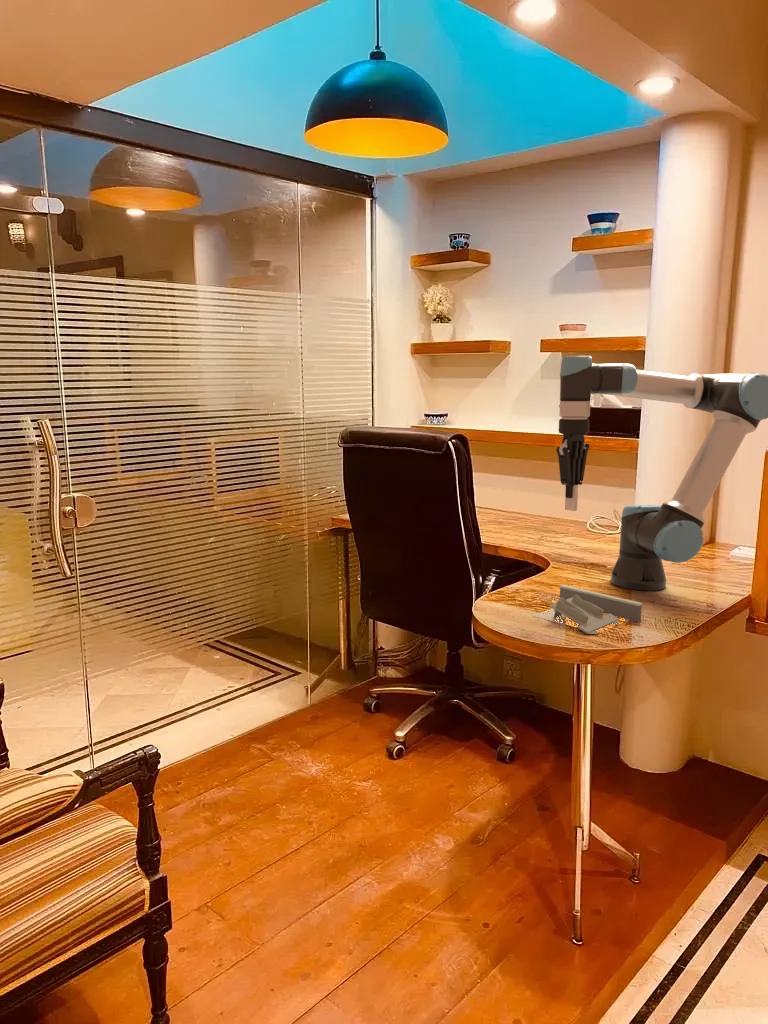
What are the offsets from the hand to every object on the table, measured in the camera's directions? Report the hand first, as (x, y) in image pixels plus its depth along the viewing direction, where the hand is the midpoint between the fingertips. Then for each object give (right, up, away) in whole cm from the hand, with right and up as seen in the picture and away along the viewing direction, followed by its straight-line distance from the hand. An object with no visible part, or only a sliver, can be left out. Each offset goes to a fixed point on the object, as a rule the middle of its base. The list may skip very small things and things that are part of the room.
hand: (570, 509), depth 201 cm
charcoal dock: (+1, -26, -9) cm, 28 cm away
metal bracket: (-1, -27, -13) cm, 30 cm away
